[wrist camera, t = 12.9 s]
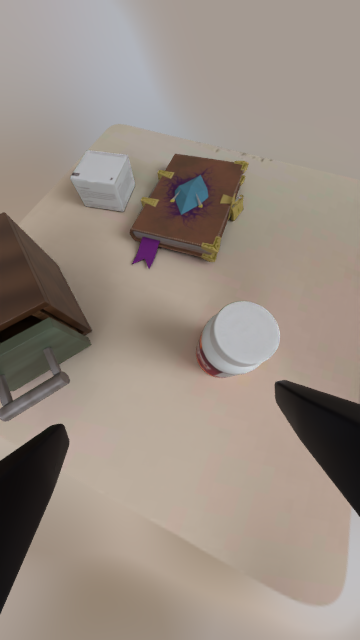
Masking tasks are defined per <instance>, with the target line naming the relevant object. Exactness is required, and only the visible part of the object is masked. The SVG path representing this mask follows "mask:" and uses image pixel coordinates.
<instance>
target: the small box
mask: <svg viewBox="0 0 360 640" xmlns="http://www.w3.org/2000/svg"><path fill="white" fill-rule="evenodd" d="M70 179H71V181H72V183H73V185H74V186H75V188H76V190H77V192H78V194H79V196H80V197H81V199H82V201H83V203H84V205H85V206H88V207H95V208H102V209H108V210H115V211H122V212H124V210H125V207H126V205H127V203H128V200H129V198H130V196H131V193H132V191H133V189H134V187H135V181H134V178H133V174H132V169H131V165H130V161H129V157H128V155H125V154H115V153H107V152H98V151H91V150H87V151H86V153H85V154H84V156H83V157H82V159H81V161H80V162H79V164H78V166H77V167H76V169H75V170H74V172H73V173H72V175H71V177H70Z"/></svg>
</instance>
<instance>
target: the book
mask: <svg viewBox="0 0 360 640" xmlns="http://www.w3.org/2000/svg"><path fill="white" fill-rule="evenodd" d="M248 164H249V163H247V162H245V161H235V162H228V161H222V160H215V159H208V158H201V157H194V156H187V155H180V154H175V155H174V157H173V158H172V160H171V162H170V163H169V165H168V167H167V168H166V170H165V171H162V170H159V171H158V179H159V181H158V183H157V185H156V186H155V188H154V190H153V191H152V193H151V195H150V196H149V198H146V197H142V199H141V202H142V206H143V208H142V210H141V212H140V213H139V215H138V218H137V220H136V221H135V223H134V225H133V226H132V228H131V230H130V235H131V236H132V238H133V239H134V240H135V241H138V242H141V243H140V247H139V250H138V253H137V255H136V257H135V259H134V261H133V263H132V264H134V263H136V262H139V261H141V260H143V259H145V261H146V263H147V266H148V268H150V266H151V264H152V262H153V260H154V258H155V255H156V252H157V249H158V247H162V248H166V249H170V250H174V251H178V252H182V253H186V254H190V255H194V256H198V257H201V258H203V259H205V260H207V261H209V262H215V260H216V257H217V253H218V251H219V248H220V241H221V237H222V234H223V232H224V229H225V226H226V223H227V221H228V220H229V218H230V215H231V220H232V221H234V220H235V219H236V218H237V216H238V215H239V214H240V213H241V212H242V210H243V195H240V197H238V198H237V199H236V196H237V193H238V190H239V188H240V186H241V185H242V184H243V182H244V180H245V176H244V175H242V174H243V173H244V172H245V171H246V170H247V167H248ZM231 213H232V214H231Z"/></svg>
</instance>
